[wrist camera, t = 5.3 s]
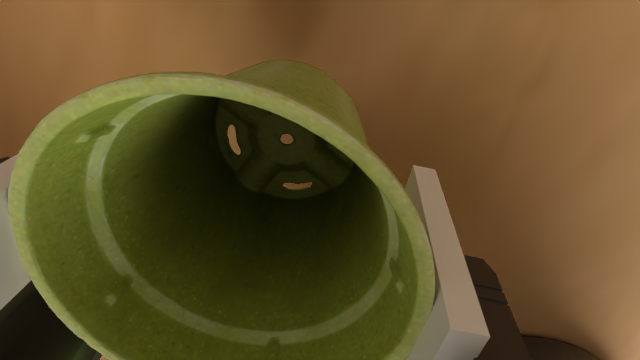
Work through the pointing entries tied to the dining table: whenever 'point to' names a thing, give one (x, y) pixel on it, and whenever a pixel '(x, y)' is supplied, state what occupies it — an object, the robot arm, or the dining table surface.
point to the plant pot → (221, 221)
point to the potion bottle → (38, 331)
